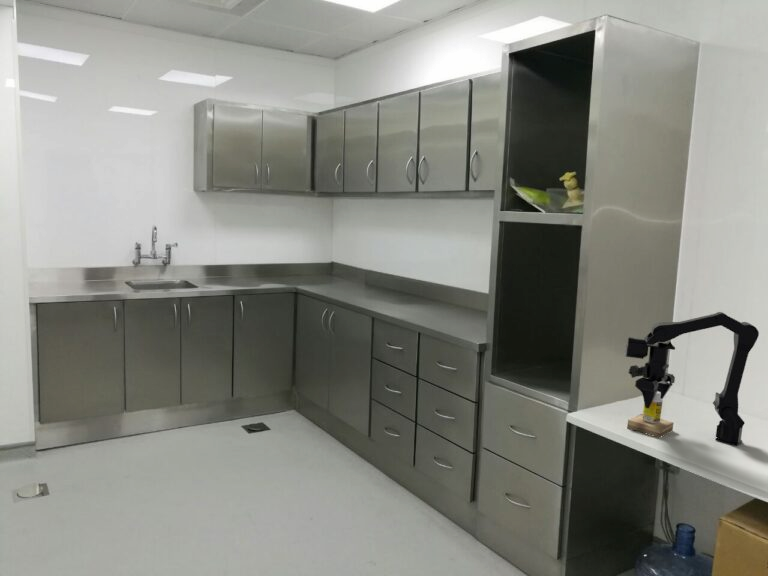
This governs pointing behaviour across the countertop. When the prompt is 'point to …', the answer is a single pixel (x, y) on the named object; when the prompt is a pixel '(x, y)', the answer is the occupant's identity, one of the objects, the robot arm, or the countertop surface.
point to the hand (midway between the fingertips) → (652, 405)
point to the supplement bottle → (653, 410)
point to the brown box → (650, 426)
